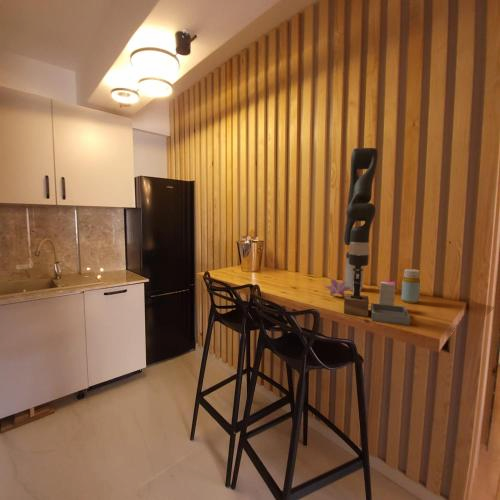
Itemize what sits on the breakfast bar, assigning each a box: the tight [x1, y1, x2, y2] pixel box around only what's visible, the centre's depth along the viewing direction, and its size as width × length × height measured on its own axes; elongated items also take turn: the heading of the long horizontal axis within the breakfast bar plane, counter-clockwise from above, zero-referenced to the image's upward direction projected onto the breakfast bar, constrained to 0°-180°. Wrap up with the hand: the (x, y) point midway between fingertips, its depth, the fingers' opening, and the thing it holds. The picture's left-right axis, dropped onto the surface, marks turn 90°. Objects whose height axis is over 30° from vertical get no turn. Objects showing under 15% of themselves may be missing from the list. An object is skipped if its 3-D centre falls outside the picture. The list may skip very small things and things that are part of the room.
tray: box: [370, 302, 411, 326], centre depth 107 cm, size 14×13×3 cm
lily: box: [324, 277, 353, 298], centre depth 133 cm, size 12×12×10 cm
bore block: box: [343, 293, 370, 317], centre depth 113 cm, size 9×9×6 cm
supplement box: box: [378, 280, 397, 306], centre depth 118 cm, size 6×6×12 cm
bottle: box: [400, 268, 421, 305], centre depth 127 cm, size 7×7×15 cm
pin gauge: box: [352, 282, 362, 299], centre depth 113 cm, size 3×3×12 cm
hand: (356, 294), depth 113 cm, fingers closed on pin gauge, 2 cm apart
